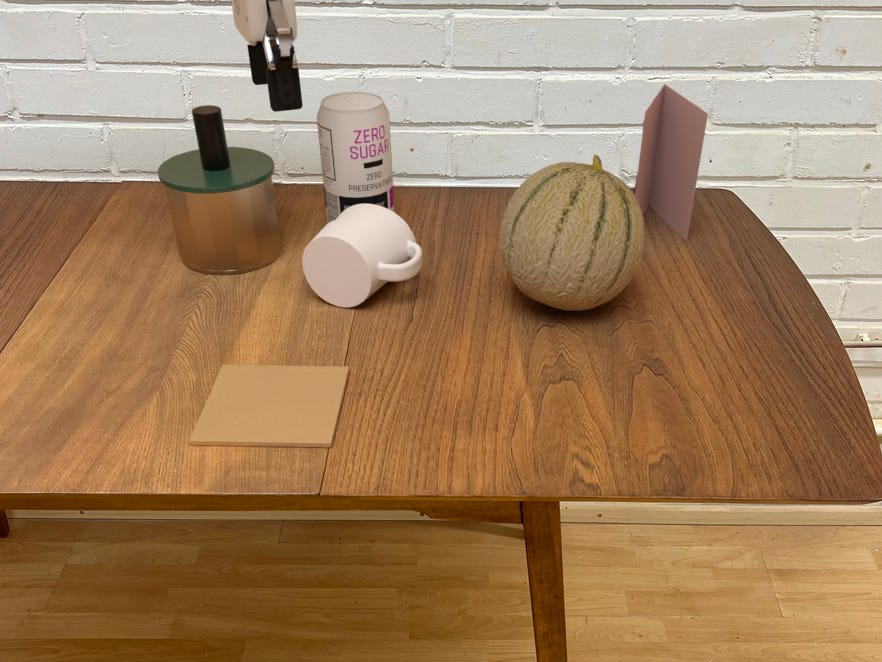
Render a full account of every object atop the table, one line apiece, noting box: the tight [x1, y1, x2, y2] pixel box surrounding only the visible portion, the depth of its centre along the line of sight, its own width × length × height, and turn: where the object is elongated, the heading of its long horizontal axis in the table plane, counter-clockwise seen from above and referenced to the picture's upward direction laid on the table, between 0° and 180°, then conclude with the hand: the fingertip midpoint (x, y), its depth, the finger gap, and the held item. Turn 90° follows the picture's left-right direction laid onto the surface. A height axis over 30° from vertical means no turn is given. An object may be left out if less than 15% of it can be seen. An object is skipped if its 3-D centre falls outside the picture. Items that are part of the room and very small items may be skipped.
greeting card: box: [633, 83, 709, 243], centre depth 106 cm, size 11×7×15 cm, turn 160°
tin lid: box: [157, 104, 276, 193], centre depth 96 cm, size 12×12×7 cm
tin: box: [163, 174, 282, 276], centre depth 101 cm, size 11×11×10 cm
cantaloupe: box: [499, 154, 646, 312], centre depth 91 cm, size 15×15×15 cm
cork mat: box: [188, 364, 350, 448], centre depth 80 cm, size 12×12×1 cm
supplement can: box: [316, 91, 396, 224], centre depth 104 cm, size 8×8×15 cm
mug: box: [301, 204, 423, 308], centre depth 94 cm, size 12×9×8 cm
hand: (277, 95), depth 95 cm, fingers open, 9 cm apart
